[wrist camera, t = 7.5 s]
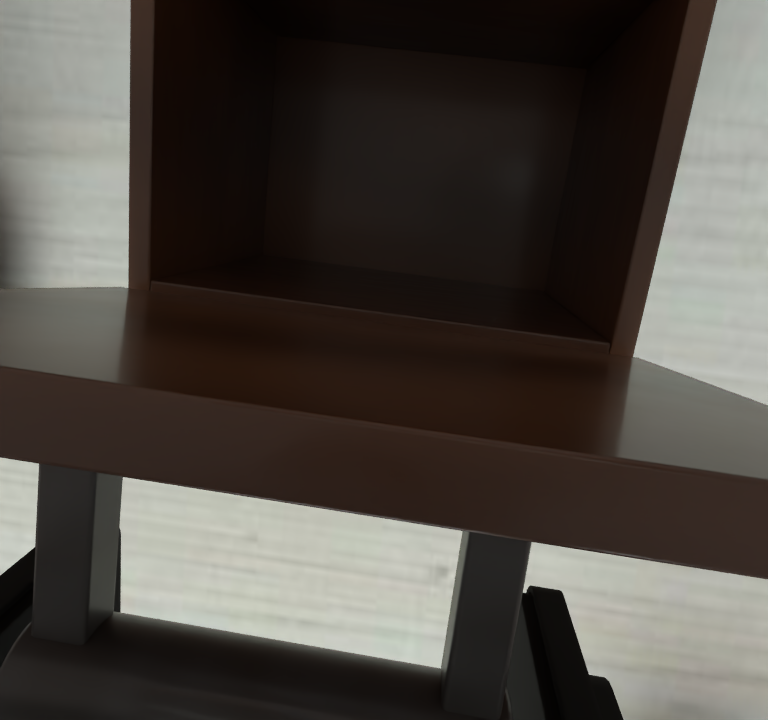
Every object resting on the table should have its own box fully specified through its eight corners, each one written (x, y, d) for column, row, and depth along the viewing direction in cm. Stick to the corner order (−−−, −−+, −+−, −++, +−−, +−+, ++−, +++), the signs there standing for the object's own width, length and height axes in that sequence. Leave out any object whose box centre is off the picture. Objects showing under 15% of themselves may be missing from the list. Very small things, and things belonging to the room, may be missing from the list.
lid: (-489, 295, 5) (-445, 829, 6) (1121, 533, 4) (926, 1120, 5) (119, 286, 15) (106, 485, 16) (639, 357, 14) (599, 564, 15)
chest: (267, 22, 23) (130, -128, 13) (602, 57, 22) (735, -74, 12) (252, 265, 26) (127, 299, 15) (553, 305, 25) (631, 369, 15)
